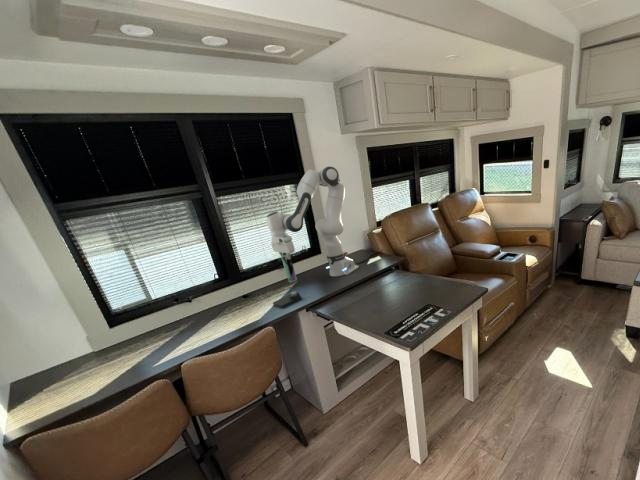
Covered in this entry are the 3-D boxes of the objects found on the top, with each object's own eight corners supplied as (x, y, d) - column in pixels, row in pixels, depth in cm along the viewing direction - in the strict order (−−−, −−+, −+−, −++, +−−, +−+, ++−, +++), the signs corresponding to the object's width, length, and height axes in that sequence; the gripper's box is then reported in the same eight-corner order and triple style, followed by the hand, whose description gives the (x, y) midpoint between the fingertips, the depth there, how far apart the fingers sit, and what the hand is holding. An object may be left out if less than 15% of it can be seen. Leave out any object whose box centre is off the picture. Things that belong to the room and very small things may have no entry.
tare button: (294, 293, 190) (294, 291, 189) (298, 294, 188) (297, 291, 187) (290, 295, 188) (289, 293, 187) (293, 296, 186) (292, 293, 185)
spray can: (297, 280, 209) (288, 252, 202) (288, 282, 208) (279, 254, 200) (297, 278, 214) (288, 250, 207) (288, 280, 213) (280, 252, 205)
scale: (292, 296, 196) (291, 290, 194) (303, 299, 189) (301, 293, 188) (273, 305, 186) (271, 299, 185) (283, 309, 180) (281, 302, 178)
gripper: (266, 238, 204) (273, 258, 209) (284, 240, 192) (290, 261, 197) (275, 236, 208) (281, 255, 214) (293, 237, 196) (299, 258, 201)
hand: (286, 258), depth 205 cm, fingers closed on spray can, 5 cm apart
